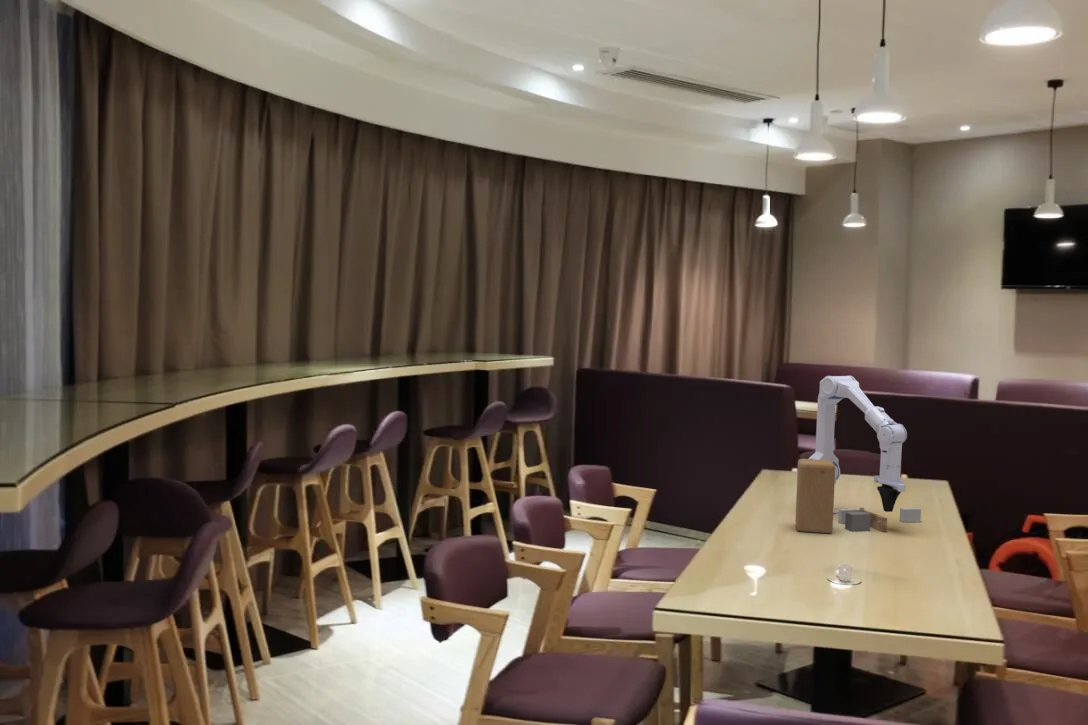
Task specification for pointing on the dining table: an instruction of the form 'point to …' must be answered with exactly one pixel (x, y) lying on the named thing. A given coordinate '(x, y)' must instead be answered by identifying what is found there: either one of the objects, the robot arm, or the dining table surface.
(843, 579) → the teacup and saucer
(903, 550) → the dining table surface
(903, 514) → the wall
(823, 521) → the wooden block
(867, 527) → the grey rectangular block
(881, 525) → the door
